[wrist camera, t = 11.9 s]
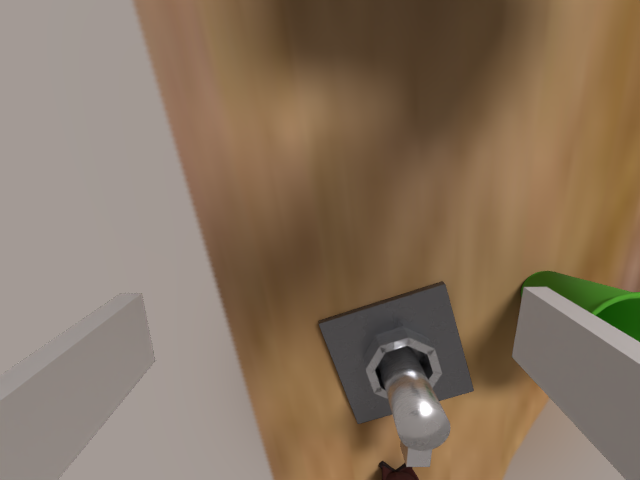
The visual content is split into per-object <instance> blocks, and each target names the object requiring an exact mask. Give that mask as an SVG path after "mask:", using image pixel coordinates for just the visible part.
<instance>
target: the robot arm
mask: <svg viewBox="0 0 640 480" xmlns="http://www.w3.org/2000/svg"><path fill="white" fill-rule="evenodd" d="M512 358H513V359H514V360H515V361H516V362H517V363H518V364H519V365H520V366H521V367H522V368H523V369H524V371H525V372H526V373H527V374H528V375H529V376H530V377H531V378H532V379H533V380H534V381H535V382H536V383H537V385H538V386H539V387H540V388H541V389H542V390H543V391H544V392H545V393H546V394H547V395H548V396H549V397H550V399H551V400H552V401H553V402H554V403H555V404H556V405H557V406H558V407H559V408H560V409H561V410H562V411H563V413H564V414H565V415H566V416H567V417H568V418H569V419H570V420H571V421H572V422H573V423H574V424H575V425H576V427H578V429H579V430H580V431H581V432H582V433H583V434H584V435H585V436H586V437H587V438H588V439H589V441H590V442H592V444H593V445H594V446H595V447H596V448H597V449H598V450H599V451H600V452H601V453H602V455H603V456H604V457H606V459H607V460H608V461H609V462H610V463H611V464H612V465H613V466H614V467H615V469H617V471H618V472H619V473H620V474H621V475H622V476H623V477H624V478H625V479H626V480H640V342H639V341H637V340H635V339H634V338H632V337H630V336H629V335H627V334H625V333H624V332H622V331H620V330H618V329H617V328H615V327H613V326H612V325H610V324H608V323H607V322H605V321H603V320H602V319H600V318H598V317H597V316H595V315H593V314H592V313H590V312H588V311H586V310H585V309H583V308H581V307H580V306H578V305H576V304H575V303H573V302H571V301H570V300H568V299H566V298H565V297H563V296H561V295H560V294H558V293H556V292H554V291H553V290H551V289H549V288H548V287H524V288H523V294H522V300H521V306H520V312H519V318H518V323H517V329H516V335H515V341H514V347H513V353H512ZM154 362H155V357H154V352H153V348H152V343H151V337H150V333H149V327H148V323H147V317H146V312H145V307H144V302H143V296H142V293H127V294H126V293H124V294H119V295H117V296H116V297H114V298H113V299H111V300H110V301H108V302H107V303H106V304H104V305H103V306H101V307H100V308H98V309H97V310H95V311H94V312H92V313H91V314H89V315H88V316H86V317H85V318H83V319H82V320H81V321H79V322H78V323H76V324H75V325H73V326H72V327H70V328H69V329H67V330H66V331H65V332H63V333H62V334H60V335H59V336H57V337H56V338H54V339H53V340H51V341H50V342H48V343H47V344H45V345H44V346H42V347H41V348H39V349H38V350H36V351H35V352H34V353H32V354H31V355H29V356H28V357H26V358H25V359H23V360H22V361H20V362H19V363H17V364H16V365H14V366H13V367H12V368H10V369H9V370H7V371H6V372H4V373H3V374H1V375H0V480H58V479H59V478H60V477H61V476H62V474H63V473H64V472H65V471H66V469H67V468H68V467H69V466H70V464H71V463H72V462H73V461H74V460H75V458H76V457H77V456H78V455H79V454H80V452H81V451H82V450H83V449H84V447H85V446H86V445H87V444H88V442H89V441H90V440H91V439H92V438H93V436H94V435H95V434H96V433H97V432H98V430H99V429H100V428H101V427H102V425H103V424H104V423H105V422H106V421H107V419H108V418H109V417H110V415H111V414H112V413H113V412H114V411H115V410H116V408H117V407H118V406H119V405H120V403H121V402H122V401H123V400H124V399H125V397H126V396H127V395H128V394H129V392H130V391H131V390H132V389H133V388H134V386H135V385H136V384H137V382H138V381H139V380H140V379H141V378H142V377H143V375H144V374H145V373H146V371H147V370H148V369H149V368H150V367H151V366H152V364H153V363H154Z"/></svg>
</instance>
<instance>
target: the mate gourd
mask: <svg viewBox="0 0 640 480" xmlns="http://www.w3.org/2000/svg"><path fill="white" fill-rule="evenodd" d="M379 467H380V468H381V469H382V480H419V479H418V477H417V475H416V474H415V472H414V470H413V469H412V467H406V464H405V463H404V464H403V465H402V466H401V467H399V468H398V469H397V470H394V469H393V468H392V467H390V466H389V465H388V464H386V463H385V462H384V461H382V462H380V463H379Z"/></svg>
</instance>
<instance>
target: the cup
mask: <svg viewBox="0 0 640 480" xmlns="http://www.w3.org/2000/svg"><path fill="white" fill-rule="evenodd" d="M524 287H548V288H549V289H551V290H553V291H554V292H556V293H558V294H560V295H561V296H563V297H565V298H566V299H568V300H570V301H571V302H573V303H575V304H576V305H578V306H580V307H581V308H583V309H585V310H586V311H588V312H590V313H592V314H593V315H595V316H597V317H598V318H600V319H602V320H603V321H605V322H607V323H608V324H610V325H612V326H613V327H615V328H617V329H618V330H620V331H622V332H624V333H625V334H627V335H629V336H630V337H632V338H634V339H635V340H637V341H639V342H640V292H629V291H625V290H621V289H618V288H614V287H610V286H606V285H602V284H598V283H595V282H591V281H587V280H583V279H579V278H575V277H571V276H568V275H564V274H560V273H556V272H552V271H543V272H537V273H535V274H533V275H531V276H530V277H528V278H527V279H526V281H525V282H524V283H523V285H522V288H521V297H522V294H523V288H524Z"/></svg>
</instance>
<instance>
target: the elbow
mask: <svg viewBox="0 0 640 480" xmlns="http://www.w3.org/2000/svg"><path fill="white" fill-rule="evenodd" d="M379 370H380V374H381V377H382V380H383V384H384V387H385V391H386V394H387V397H388V401H389V404H390V408H391V411H392V414H393V418H394V421H395V425H396V428H397V431H398V435H399V438H400V440H401V443H400V447H401V450H402V454H403V457H404V460H405V464H406V467H430V461H431V453H432V449H434V448H436V447H438V446H440V445H441V444H442V443H443V442H444V441H445V440H446V439H447V437H448V436H449V433H450V423H449V420H448V418H447V416H446V414H445V412H444V410H443V408H442V406H441V404H440V402H439V400H438V398H437V396H436V394H435V393H434V391H433V389H432V387H431V385H430V383H429V381H428V379H427V377H426V375H425V373H424V371H423V369H422V367H421V365H420V363H419V361H418V359H417V357H416V355H415V353H414V352H413V351H411V350H410V349H408V348H406V347H402V348H399V349H395V350H392V351H389V352H385V354H384V356H383V357H382V359H381V361H380V362H379Z"/></svg>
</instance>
